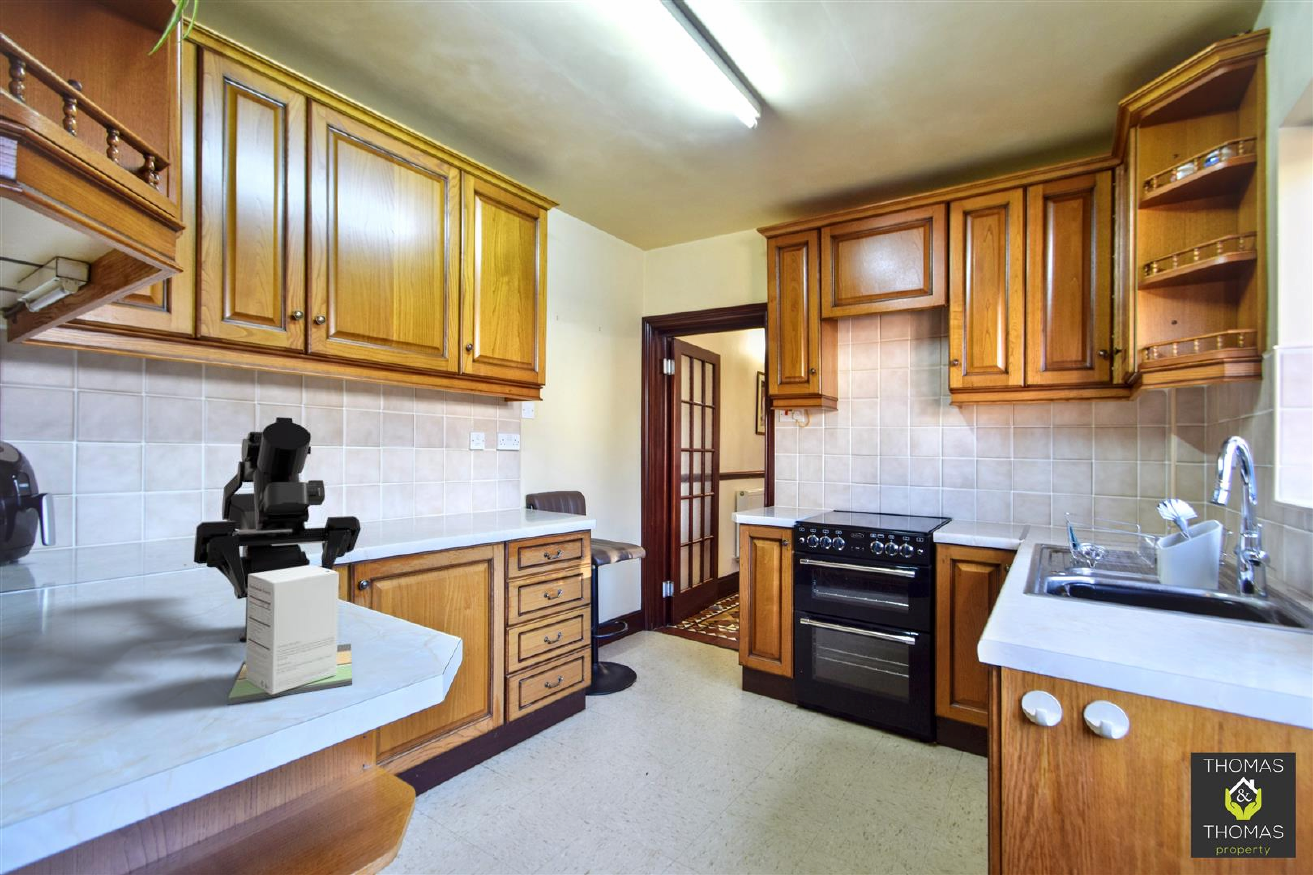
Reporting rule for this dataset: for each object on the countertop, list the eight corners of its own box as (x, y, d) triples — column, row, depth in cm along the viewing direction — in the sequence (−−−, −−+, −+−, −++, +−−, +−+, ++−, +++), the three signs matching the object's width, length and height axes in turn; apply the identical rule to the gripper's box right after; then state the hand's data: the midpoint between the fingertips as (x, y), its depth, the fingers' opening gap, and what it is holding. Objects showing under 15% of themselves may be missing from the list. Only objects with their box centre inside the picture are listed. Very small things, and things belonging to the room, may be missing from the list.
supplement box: (310, 662, 74) (313, 563, 74) (338, 676, 69) (341, 570, 70) (243, 680, 68) (246, 572, 68) (268, 696, 63) (272, 581, 64)
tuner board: (247, 660, 76) (248, 656, 76) (350, 647, 81) (350, 642, 81) (227, 704, 63) (227, 698, 63) (351, 684, 68) (352, 679, 68)
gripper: (200, 458, 73) (199, 559, 64) (360, 461, 85) (378, 546, 77) (194, 514, 79) (192, 614, 70) (345, 509, 91) (359, 594, 82)
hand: (286, 590), depth 75 cm, fingers open, 9 cm apart
